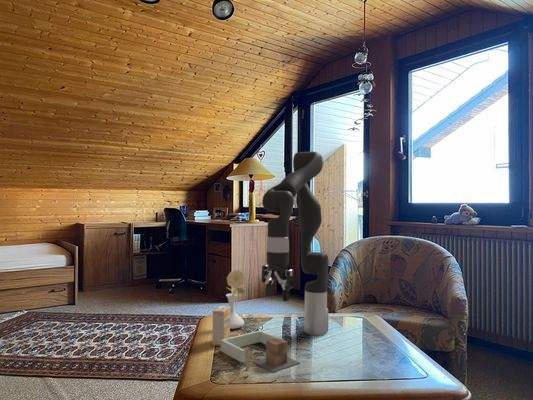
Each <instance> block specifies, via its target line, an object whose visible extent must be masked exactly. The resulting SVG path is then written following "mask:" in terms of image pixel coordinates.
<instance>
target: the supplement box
mask: <svg viewBox="0 0 533 400" xmlns="http://www.w3.org/2000/svg"><path fill="white" fill-rule="evenodd" d="M211 334H212V339H211V340H212V341H211V342H212V343H211V345H212V346H214V347H215V346H217V347H221V340H223V339H227V338H231V329H230V306H229V305H228V306H227V305H218V307H216V308H215V309H214V310H212V332H211Z"/></svg>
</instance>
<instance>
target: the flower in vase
mask: <svg viewBox="0 0 533 400" xmlns="http://www.w3.org/2000/svg"><path fill="white" fill-rule="evenodd" d="M246 279H247V278H246V275H245V272H244V271H242V270H239V269H236V270H235V269H234V270H232V271H230V272H229V273H228V276H226V282H227V285H228V286H230V287H232V288H234V289H235V290H234V291H233V290H232V289H231V288H229V287H227V289H228V290H229V291H232V292H233V293H227V294H225V297H226V298H227V301H228V306H230V330H234V329H238V328H241V327H243V326H244V325H245V321H244V319H243V318H242V317H241V316H240V315H238V314H237V313H236V312H235V301H236V298H237V297H238V294H244V293H246V291H245V289H244V288H243V287H242V286H243V284H244V283H245V281H246ZM236 291H237V293H238V294H237V293H236Z"/></svg>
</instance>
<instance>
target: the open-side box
mask: <svg viewBox="0 0 533 400" xmlns="http://www.w3.org/2000/svg"><path fill="white" fill-rule="evenodd" d="M275 338H278V337H277V336H275V335H272V334H269V333H268V332H265V331H263V330H258V331H253V332H252V331H251V332H248V333H244V334H240V335H236V336H230V338H227V339H223V340H221V346H220V352H221V353H224V354H226V355H227V356H229V357H231V358H232V359H234V360H236V361H238V362H240V363H242V364H243V363H246V350H245V349H244V348H242V347H246V346H250V345H254V344H257V343H261V344H263V345H265V346H266V341H267V340H271V339H275Z"/></svg>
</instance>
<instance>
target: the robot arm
mask: <svg viewBox="0 0 533 400" xmlns="http://www.w3.org/2000/svg"><path fill="white" fill-rule="evenodd" d="M292 162H293V163H292V164H293V165H292V167H293V172H290V173H289V174H287V175H286V176H285V177H284V178H283V179H282V180H281V181H280V183H278V184H276V185H274V186H272V187H271V188H269V189H268V190H267V191H266V192H265V193H264V194H263V196H262V200H261V201H262V202H261V203H262V207H263V208H264V209H265V211H268V212H274V213H275V212H278V213H279V215H278V217H275V218H271V219H269V220H268V221H267V238H266V264H264V265H262V266H261V283H263V284H264V285H265V295H266V297H268V298H269V297H272V296H273V283H274V282H275V281H276V282H278V284H280V285H281V288H282V301H283V302H289V300H290V294H291V293H290V292H291V290H292V289H295V270H294V269H288V265H289V263H290V240H289V224H290V220H291V215H292V212H293V208H294V205H295V197H296V196H297V207H298V208H297V209H298V210H297V211H298V212H297V213H298V222H299V229H300V230H299V231H300V265H301V270H302V272H303V273H304V274H307V275H315V276H316V275H317V279H315V280H312V281H308V282H306V283H305V284H304V330H303V331H304V333H305V334H307V335H311V336H323V335H326V334H327V332H329V308H328V283H329V281H328V280H329V277H328V276H329V263H330V261H329V256H328V254H327V253H326V252H318V251H317V252H316V251H312V250H311V249H312V248H311V247H312V242H313V240H314V237H315V235H316V234H317V233H318V230H319V229H320V227H321V224H322V218H323V217H322V207H321V204H320V201H319V200H318V198H317V197H316V196H315V194H314V193H313V192H312V190H311V188H310V186H309V184H308V183H309V182H310V181H311V180H313V179H314V178H315V177H316V176H318V175H320V173H321V172H322V169H323V167H324V160H323V156H322V154H321V153H320V152H318V151H299V152H295V154H294V155H293V161H292Z"/></svg>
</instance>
